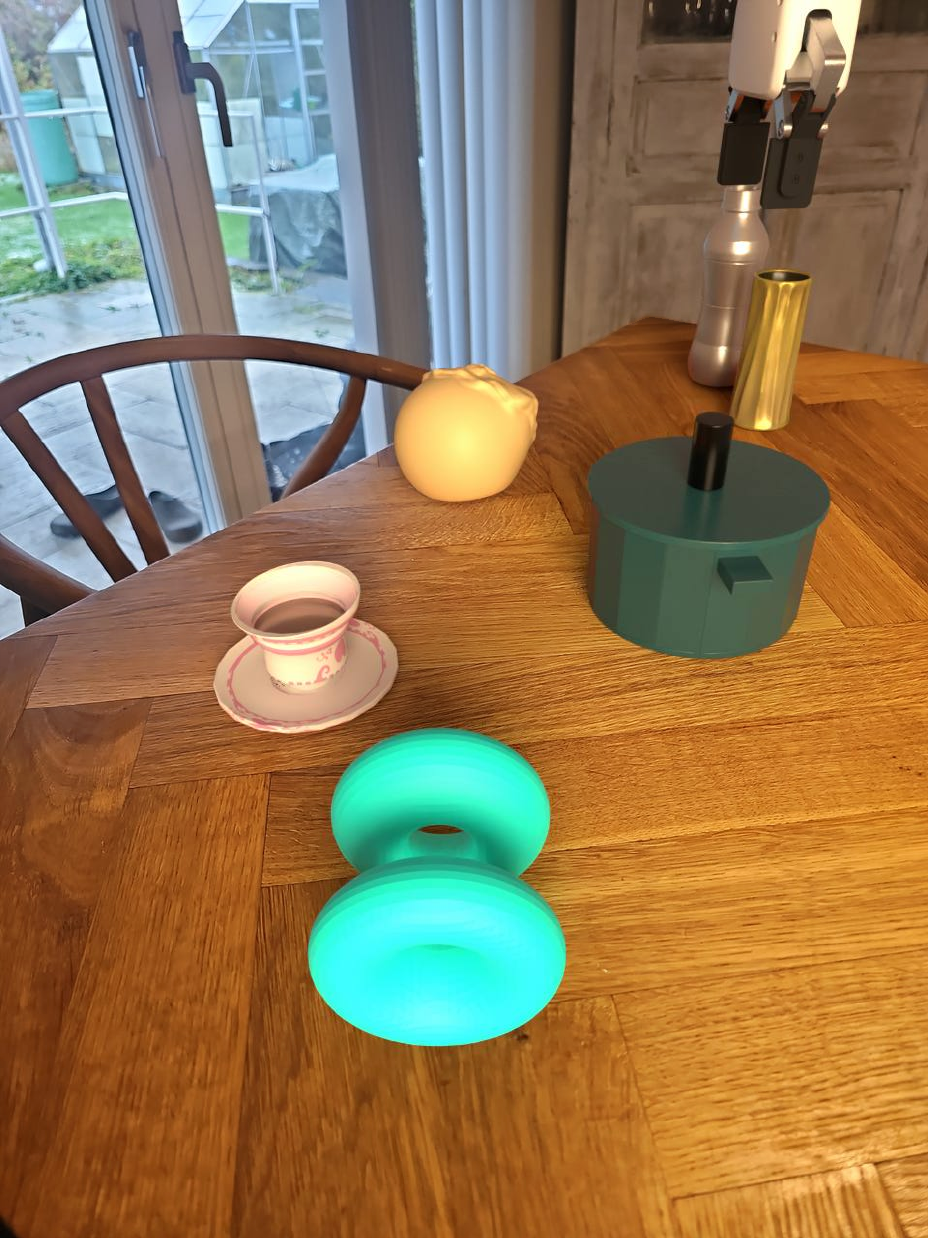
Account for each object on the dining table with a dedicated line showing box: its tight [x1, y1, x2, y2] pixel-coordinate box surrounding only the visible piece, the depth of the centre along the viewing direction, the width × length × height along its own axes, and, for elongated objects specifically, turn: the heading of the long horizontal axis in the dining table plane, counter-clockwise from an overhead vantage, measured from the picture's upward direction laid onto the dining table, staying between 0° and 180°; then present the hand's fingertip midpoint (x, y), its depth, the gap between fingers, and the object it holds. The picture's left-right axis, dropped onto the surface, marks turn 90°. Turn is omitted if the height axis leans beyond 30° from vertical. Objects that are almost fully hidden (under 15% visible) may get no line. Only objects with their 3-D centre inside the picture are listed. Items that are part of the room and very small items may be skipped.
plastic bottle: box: [687, 185, 770, 388], centre depth 90 cm, size 6×7×20 cm
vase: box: [727, 267, 813, 432], centre depth 83 cm, size 6×6×14 cm
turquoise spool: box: [307, 727, 567, 1047], centre depth 36 cm, size 10×10×10 cm
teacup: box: [212, 560, 400, 734], centre depth 54 cm, size 12×12×6 cm
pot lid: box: [586, 411, 832, 551], centre depth 55 cm, size 16×16×6 cm
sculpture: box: [393, 363, 539, 503], centre depth 74 cm, size 11×12×11 cm
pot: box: [585, 502, 819, 660], centre depth 59 cm, size 15×20×8 cm
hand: (759, 195), depth 59 cm, fingers open, 9 cm apart
